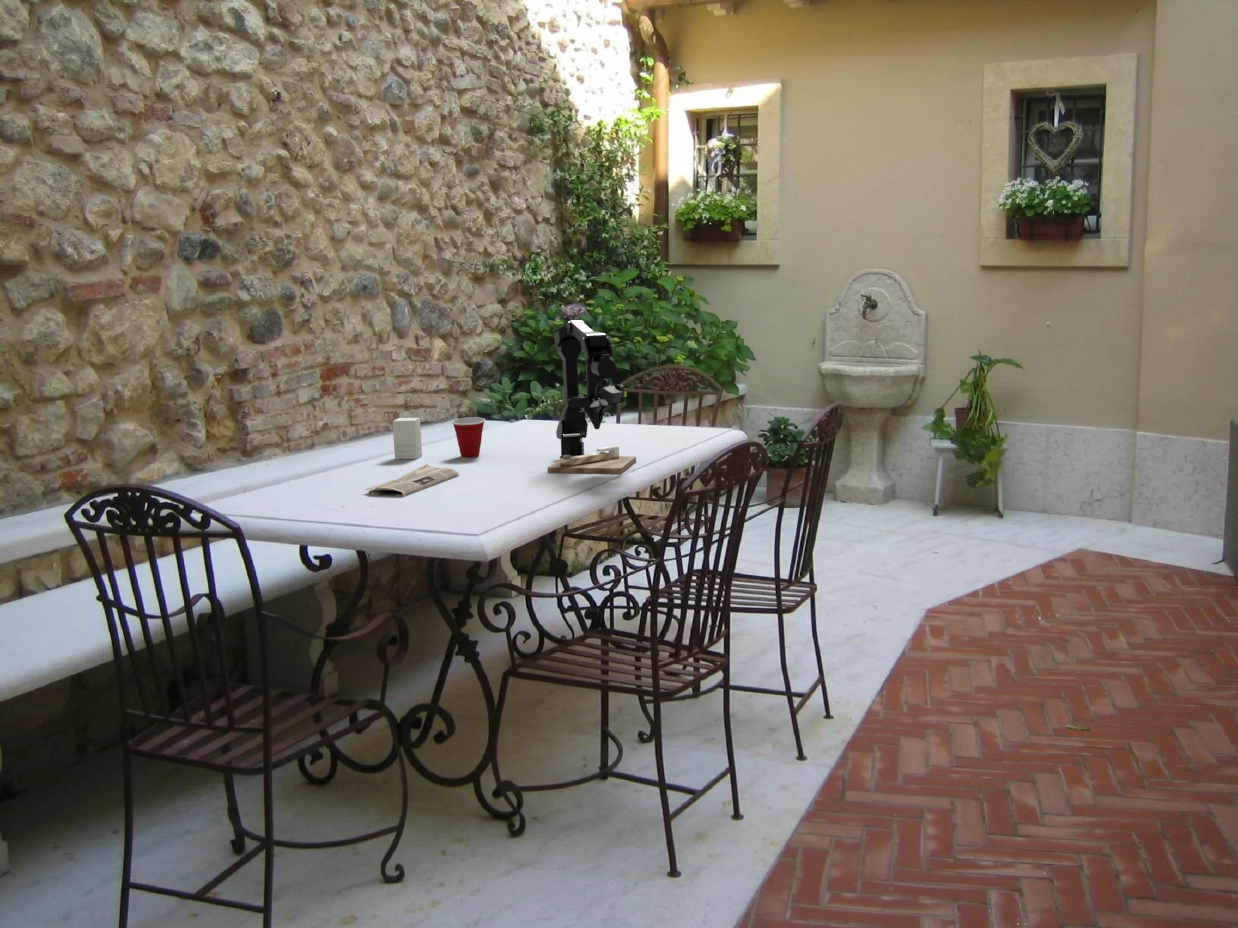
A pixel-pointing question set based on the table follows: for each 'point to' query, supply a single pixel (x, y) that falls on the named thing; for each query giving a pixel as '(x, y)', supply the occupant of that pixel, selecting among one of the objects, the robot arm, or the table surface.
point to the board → (595, 466)
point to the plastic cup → (469, 435)
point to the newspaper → (415, 481)
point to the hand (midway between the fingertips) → (597, 429)
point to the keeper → (611, 451)
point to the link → (583, 458)
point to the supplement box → (407, 438)
